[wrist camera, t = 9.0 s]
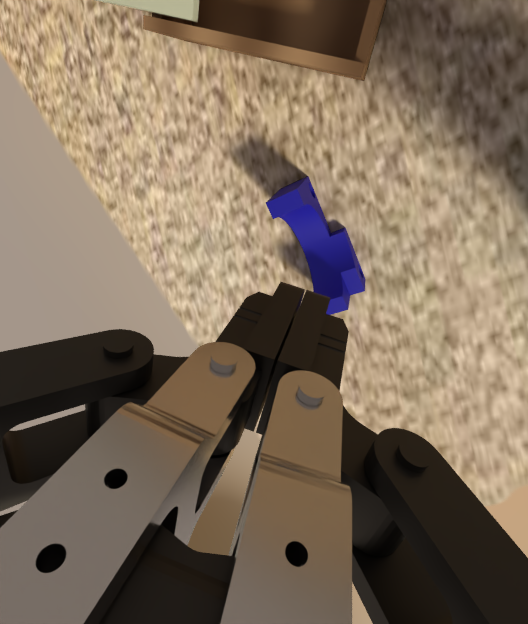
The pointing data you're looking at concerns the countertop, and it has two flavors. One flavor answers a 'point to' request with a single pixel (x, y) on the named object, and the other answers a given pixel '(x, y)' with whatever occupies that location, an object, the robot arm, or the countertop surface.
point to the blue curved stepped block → (320, 244)
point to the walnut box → (285, 31)
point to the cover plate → (163, 7)
